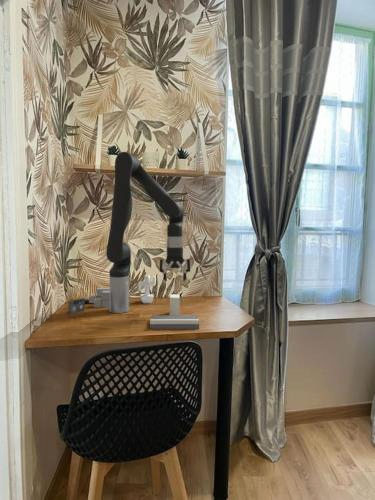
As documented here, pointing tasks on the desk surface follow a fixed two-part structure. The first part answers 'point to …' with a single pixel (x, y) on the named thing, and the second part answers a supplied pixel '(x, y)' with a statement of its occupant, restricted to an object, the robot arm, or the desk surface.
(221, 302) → the desk surface
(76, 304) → the mini dv tape
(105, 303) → the grey stepped block
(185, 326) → the shelf board
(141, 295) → the white potted plant
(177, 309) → the tea carton
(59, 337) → the desk surface
